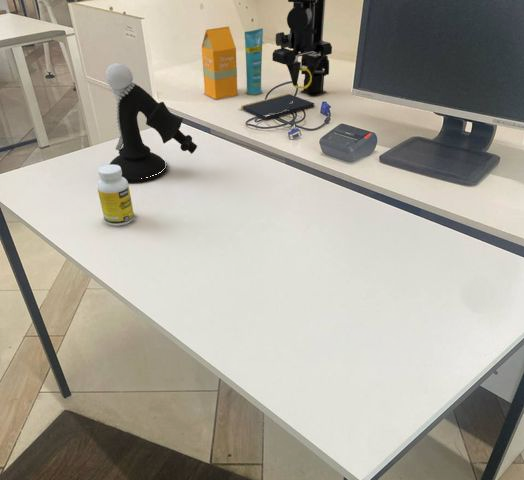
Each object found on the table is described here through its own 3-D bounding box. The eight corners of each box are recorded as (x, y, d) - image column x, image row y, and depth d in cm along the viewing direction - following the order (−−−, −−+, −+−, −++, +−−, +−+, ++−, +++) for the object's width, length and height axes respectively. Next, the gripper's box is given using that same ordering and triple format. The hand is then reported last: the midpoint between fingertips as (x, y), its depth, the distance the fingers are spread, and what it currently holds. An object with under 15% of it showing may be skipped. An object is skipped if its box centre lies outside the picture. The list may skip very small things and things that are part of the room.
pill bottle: (120, 229, 114) (109, 178, 106) (98, 222, 117) (86, 171, 109) (140, 217, 118) (131, 166, 110) (119, 210, 121) (109, 160, 113)
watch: (291, 89, 159) (292, 68, 155) (290, 86, 161) (291, 65, 157) (311, 89, 159) (312, 67, 155) (310, 86, 161) (311, 65, 157)
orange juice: (237, 94, 183) (235, 28, 169) (215, 99, 179) (211, 32, 166) (226, 89, 188) (223, 24, 174) (204, 93, 184) (199, 27, 171)
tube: (251, 96, 181) (250, 32, 168) (241, 93, 184) (239, 30, 171) (266, 92, 185) (266, 29, 172) (257, 89, 188) (256, 26, 175)
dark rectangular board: (288, 97, 181) (288, 93, 180) (313, 106, 173) (313, 103, 172) (241, 109, 172) (241, 105, 171) (266, 120, 164) (266, 116, 163)
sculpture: (117, 157, 143) (98, 54, 126) (204, 160, 142) (195, 56, 125) (100, 182, 132) (76, 72, 115) (194, 185, 130) (183, 74, 113)
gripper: (309, 15, 158) (306, 72, 169) (260, 24, 149) (260, 83, 160) (335, 21, 152) (330, 80, 162) (285, 31, 143) (284, 92, 154)
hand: (301, 83), depth 160 cm, fingers closed on watch, 5 cm apart
